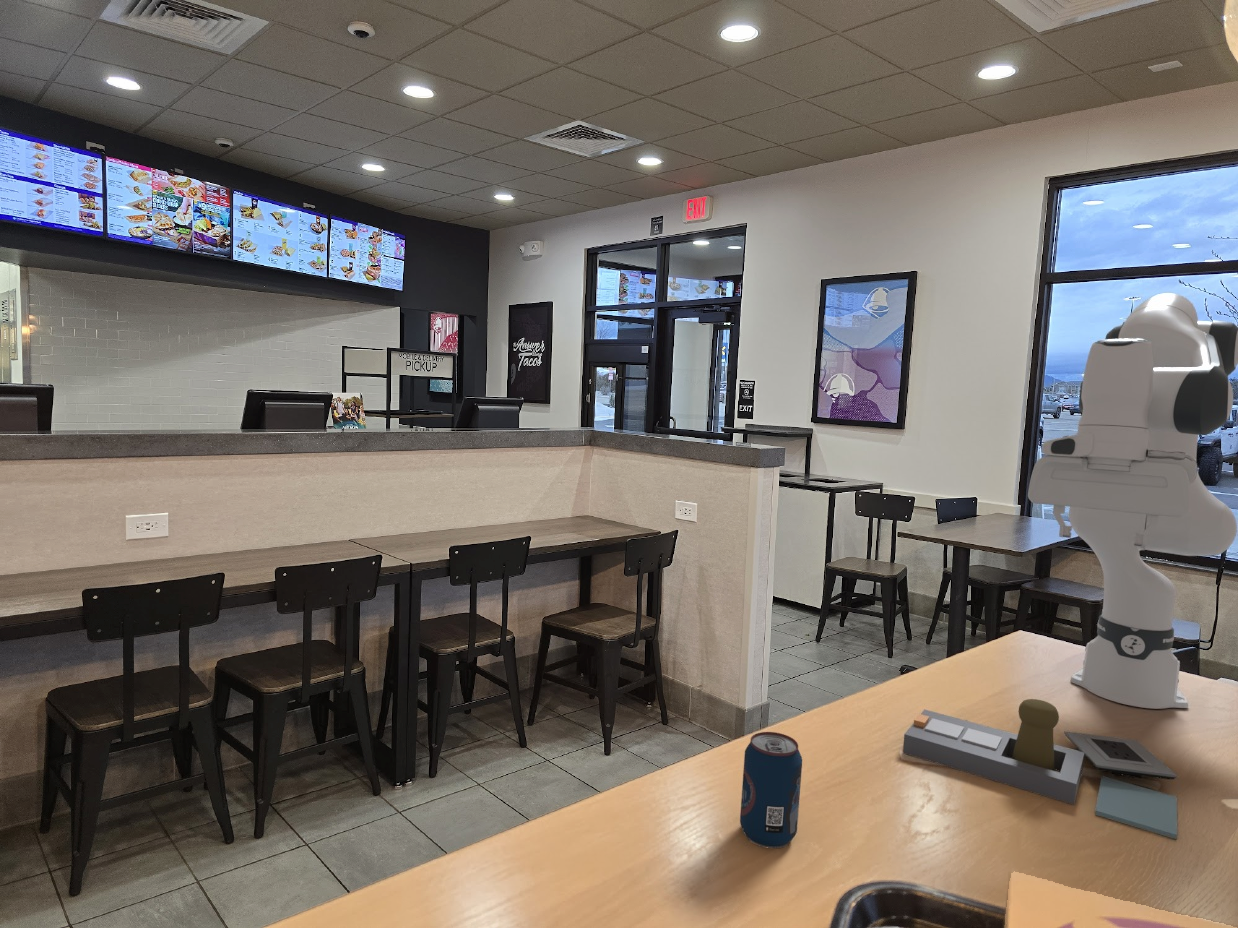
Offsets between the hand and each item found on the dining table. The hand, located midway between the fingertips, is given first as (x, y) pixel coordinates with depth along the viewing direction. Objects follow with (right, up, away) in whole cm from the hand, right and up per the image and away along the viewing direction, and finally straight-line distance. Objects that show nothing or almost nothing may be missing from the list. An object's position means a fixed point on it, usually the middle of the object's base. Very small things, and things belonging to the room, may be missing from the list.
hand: (1101, 541), depth 115 cm
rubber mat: (0, -36, -8) cm, 37 cm away
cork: (-10, -35, +1) cm, 36 cm away
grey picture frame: (+5, -35, +4) cm, 35 cm away
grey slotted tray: (-14, -34, +4) cm, 37 cm away
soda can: (-53, -35, -18) cm, 66 cm away
